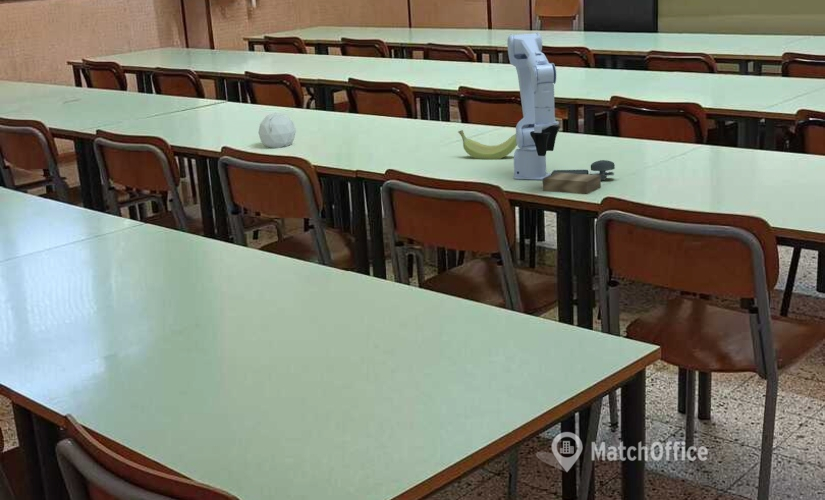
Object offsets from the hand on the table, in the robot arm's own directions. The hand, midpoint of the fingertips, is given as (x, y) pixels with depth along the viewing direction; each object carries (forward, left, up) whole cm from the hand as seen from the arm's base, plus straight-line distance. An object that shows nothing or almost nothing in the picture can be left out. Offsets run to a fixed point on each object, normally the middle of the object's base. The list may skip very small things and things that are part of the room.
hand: (545, 153), depth 309 cm
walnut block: (+8, 0, -11) cm, 13 cm away
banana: (-24, +39, -8) cm, 46 cm away
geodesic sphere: (-121, +47, -11) cm, 130 cm away
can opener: (+7, +12, -11) cm, 18 cm away
